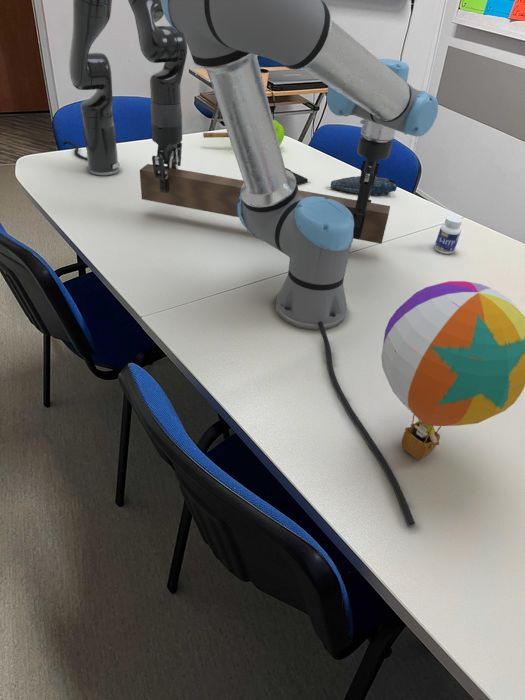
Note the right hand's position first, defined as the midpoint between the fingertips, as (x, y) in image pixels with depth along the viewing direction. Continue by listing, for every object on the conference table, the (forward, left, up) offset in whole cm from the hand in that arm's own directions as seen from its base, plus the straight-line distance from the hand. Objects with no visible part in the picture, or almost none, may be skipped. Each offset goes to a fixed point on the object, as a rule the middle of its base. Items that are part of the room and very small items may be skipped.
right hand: (356, 232), depth 132 cm
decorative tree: (+71, +42, -6) cm, 82 cm away
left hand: (+6, +50, +3) cm, 51 cm away
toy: (-65, -11, -6) cm, 67 cm away
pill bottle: (+9, -25, -6) cm, 27 cm away
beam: (+3, +25, -1) cm, 25 cm away
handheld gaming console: (+46, +23, -6) cm, 51 cm away
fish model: (+44, -2, -6) cm, 44 cm away
